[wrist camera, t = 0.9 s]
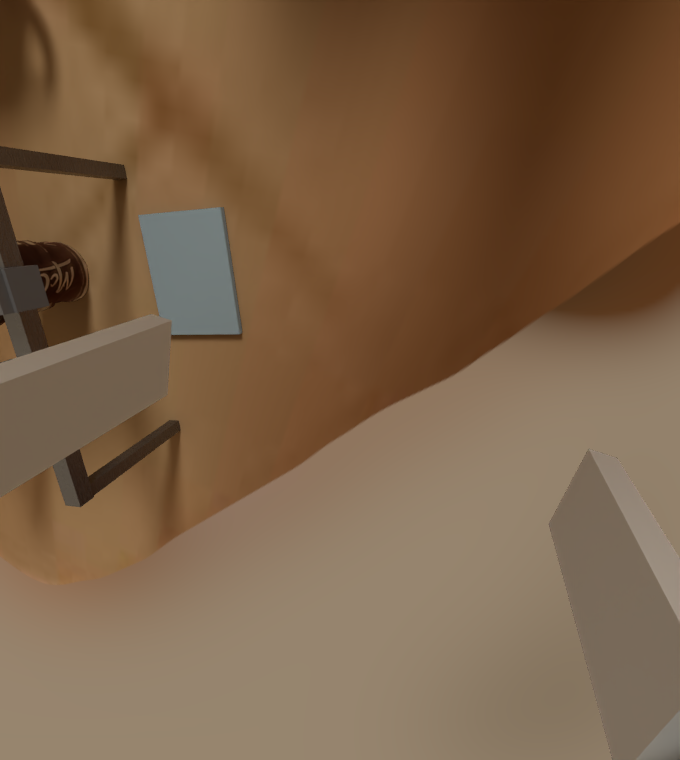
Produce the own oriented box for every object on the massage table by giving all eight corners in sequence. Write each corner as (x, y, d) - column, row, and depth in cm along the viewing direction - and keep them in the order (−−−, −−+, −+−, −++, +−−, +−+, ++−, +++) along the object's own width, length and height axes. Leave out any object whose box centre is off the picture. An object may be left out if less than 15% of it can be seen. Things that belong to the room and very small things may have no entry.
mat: (142, 215, 43) (138, 215, 43) (223, 207, 41) (220, 207, 40) (166, 333, 47) (163, 334, 47) (242, 332, 45) (239, 334, 44)
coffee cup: (48, 314, 51) (-78, 344, 39) (20, 240, 48) (-124, 247, 36) (108, 304, 48) (-8, 333, 36) (81, 225, 46) (-52, 228, 34)
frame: (-40, 186, 48) (-240, 174, 34) (125, 164, 42) (-36, 140, 28) (37, 421, 57) (-96, 486, 44) (181, 430, 51) (80, 507, 38)
